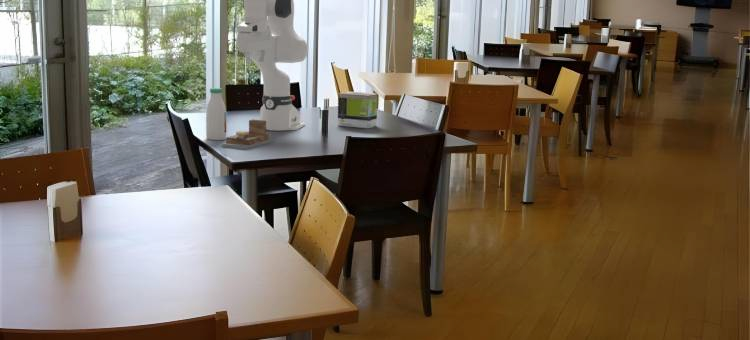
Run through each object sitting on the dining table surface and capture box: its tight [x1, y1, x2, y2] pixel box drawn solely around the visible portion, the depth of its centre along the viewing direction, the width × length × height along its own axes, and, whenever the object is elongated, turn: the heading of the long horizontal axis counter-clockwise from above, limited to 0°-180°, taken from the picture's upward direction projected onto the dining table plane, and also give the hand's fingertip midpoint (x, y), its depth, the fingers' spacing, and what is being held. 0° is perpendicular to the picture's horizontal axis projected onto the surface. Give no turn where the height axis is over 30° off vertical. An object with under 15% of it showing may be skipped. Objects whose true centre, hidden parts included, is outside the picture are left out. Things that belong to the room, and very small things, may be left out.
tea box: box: [337, 91, 378, 129], centre depth 378 cm, size 15×10×15 cm, turn 65°
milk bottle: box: [205, 87, 227, 141], centre depth 335 cm, size 8×8×20 cm
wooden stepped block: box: [225, 119, 272, 145], centre depth 328 cm, size 16×10×7 cm, turn 156°
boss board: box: [221, 130, 273, 150], centre depth 328 cm, size 20×10×5 cm, turn 157°
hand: (255, 62), depth 329 cm, fingers open, 8 cm apart
